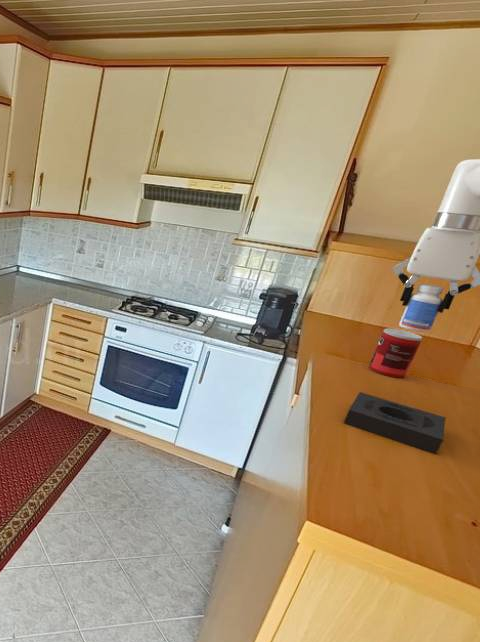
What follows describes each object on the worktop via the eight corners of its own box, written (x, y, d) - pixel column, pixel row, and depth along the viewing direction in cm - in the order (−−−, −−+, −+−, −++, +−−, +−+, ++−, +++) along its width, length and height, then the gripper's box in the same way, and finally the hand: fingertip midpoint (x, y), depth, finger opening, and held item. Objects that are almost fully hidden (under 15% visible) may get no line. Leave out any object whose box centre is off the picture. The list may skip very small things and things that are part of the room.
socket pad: (354, 404, 107) (359, 391, 106) (438, 430, 98) (445, 417, 97) (343, 422, 97) (349, 409, 96) (436, 454, 88) (443, 439, 87)
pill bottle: (434, 334, 105) (453, 290, 102) (404, 329, 107) (422, 285, 104) (422, 328, 110) (441, 285, 107) (394, 323, 112) (411, 281, 108)
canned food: (383, 366, 134) (400, 328, 130) (412, 378, 126) (431, 338, 122) (360, 365, 132) (376, 327, 128) (388, 378, 125) (406, 337, 121)
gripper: (516, 229, 98) (476, 316, 104) (406, 218, 109) (376, 297, 115) (518, 229, 93) (475, 321, 99) (402, 218, 104) (371, 301, 110)
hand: (422, 307), depth 107 cm, fingers closed on pill bottle, 5 cm apart
